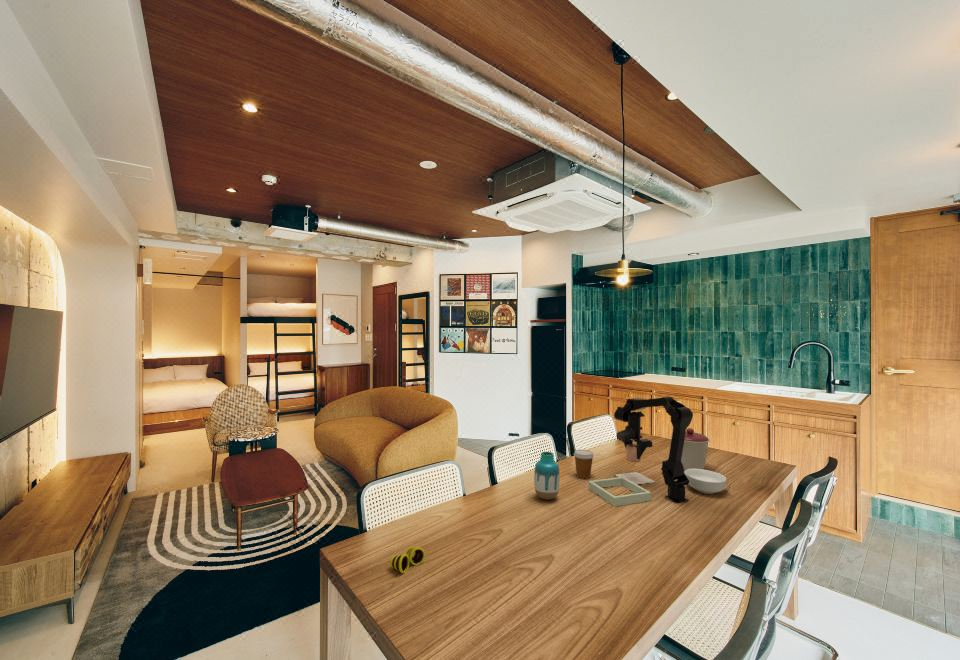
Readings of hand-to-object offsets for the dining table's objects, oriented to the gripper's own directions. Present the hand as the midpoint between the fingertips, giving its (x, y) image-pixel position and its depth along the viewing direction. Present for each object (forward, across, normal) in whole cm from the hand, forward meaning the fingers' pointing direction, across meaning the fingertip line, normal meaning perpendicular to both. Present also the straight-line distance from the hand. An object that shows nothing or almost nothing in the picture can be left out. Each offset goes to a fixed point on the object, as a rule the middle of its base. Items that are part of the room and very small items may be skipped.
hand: (633, 456), depth 191 cm
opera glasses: (+11, +35, -114) cm, 119 cm away
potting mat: (+11, -1, +1) cm, 11 cm away
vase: (+11, +5, -50) cm, 51 cm away
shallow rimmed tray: (+11, +12, -18) cm, 24 cm away
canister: (+11, -4, +39) cm, 41 cm away
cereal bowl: (+11, +20, +23) cm, 32 cm away
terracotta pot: (+2, 0, 0) cm, 2 cm away
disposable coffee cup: (+11, -11, -20) cm, 26 cm away
